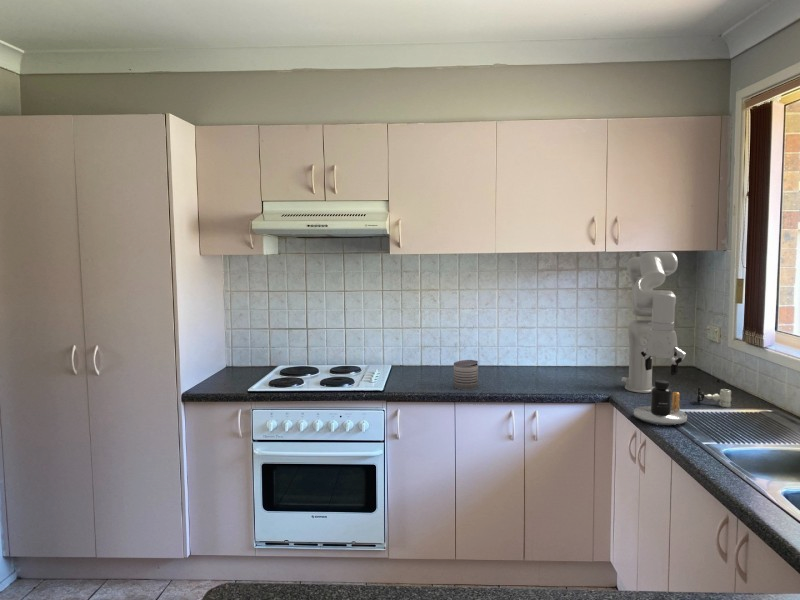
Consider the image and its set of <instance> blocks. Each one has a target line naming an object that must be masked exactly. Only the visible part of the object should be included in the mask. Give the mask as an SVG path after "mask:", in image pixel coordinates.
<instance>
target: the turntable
mask: <svg viewBox="0 0 800 600" xmlns="http://www.w3.org/2000/svg"><path fill="white" fill-rule="evenodd" d="M680 395H681V393H680V392H679V391H672V398H671V413H670V414H669V415H657V414H654V413H652V412H651V405H645V406H644V405H643V406H638V407H636V408H634V409H633V416H634V417H635V418H636V419H638V420H640V419H641V420H644V421H647V422H652V423H658V424H679V425H682V424H684V423H687V421H688V414H687V413H685V412H684V411H682V410H681V409H680V408H681V407H680ZM641 420H640V421H641Z"/></svg>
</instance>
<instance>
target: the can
mask: <svg viewBox="0 0 800 600" xmlns="http://www.w3.org/2000/svg"><path fill="white" fill-rule="evenodd" d="M454 387H455V388H454ZM477 387H479V361H478V360H474V359H462V360H458V361H455V362H453V388H454V389H456V388H458V389H457V390H460V389H463V390H462V391H472V390H471V389H473V390H477V389H478V388H477ZM476 388H477V389H476ZM467 389H468V390H467Z"/></svg>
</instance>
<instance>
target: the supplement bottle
mask: <svg viewBox="0 0 800 600" xmlns="http://www.w3.org/2000/svg"><path fill="white" fill-rule="evenodd" d="M653 387H654V388H653V389H652V392H650V393H651V395H650V406H651V412H652V413H654V414H657V415H669V414H670V413H671V407H672V398H673V391H672V390H671V388H670V382H669V381H668V380H663V379H656V380H654V386H653Z"/></svg>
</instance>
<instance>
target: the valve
mask: <svg viewBox="0 0 800 600" xmlns="http://www.w3.org/2000/svg"><path fill="white" fill-rule="evenodd" d="M705 398H706V399H707V400H711V399H712V400H714V401H715V402H718V401H719V406H720V407H723V408H730V407H731V402H732V390H730V389H726V388H721V389H720V390H719V394H718V393H714V394H710V393H708V394H705V393H704V391H701V387H697V397H696V404H699V405H700V404H701V402H702V401H703V400H704V399H705Z"/></svg>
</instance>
